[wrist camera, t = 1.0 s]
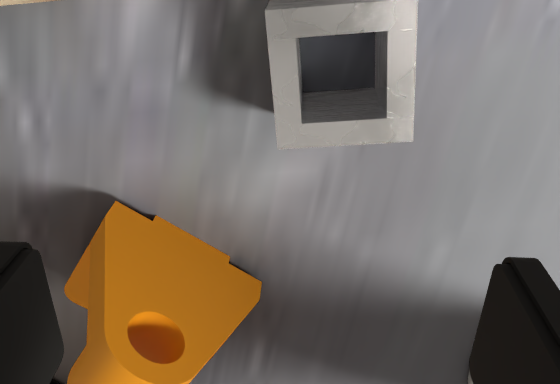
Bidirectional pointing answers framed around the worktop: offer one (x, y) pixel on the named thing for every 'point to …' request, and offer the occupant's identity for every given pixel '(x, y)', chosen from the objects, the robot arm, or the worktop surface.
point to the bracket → (154, 302)
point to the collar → (343, 103)
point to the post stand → (21, 1)
